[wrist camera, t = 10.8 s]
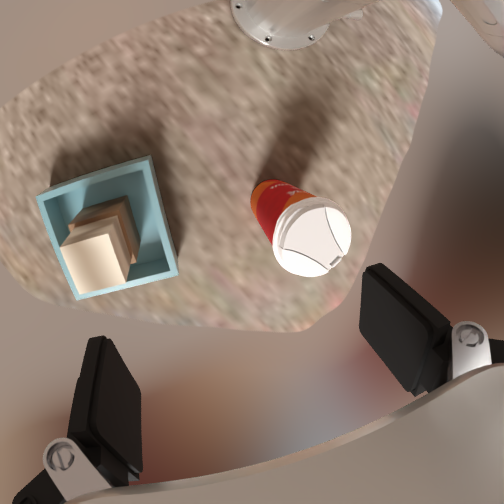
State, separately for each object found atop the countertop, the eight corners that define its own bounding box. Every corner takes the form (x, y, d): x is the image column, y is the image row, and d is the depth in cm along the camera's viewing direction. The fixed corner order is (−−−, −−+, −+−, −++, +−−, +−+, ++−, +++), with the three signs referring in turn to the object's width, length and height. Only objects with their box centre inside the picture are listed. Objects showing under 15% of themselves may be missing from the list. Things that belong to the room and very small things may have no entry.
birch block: (117, 215, 28) (108, 233, 24) (131, 259, 31) (126, 283, 26) (74, 227, 28) (59, 247, 23) (90, 270, 30) (79, 294, 26)
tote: (151, 154, 33) (148, 159, 29) (177, 258, 39) (178, 275, 35) (49, 187, 31) (35, 196, 27) (84, 282, 37) (76, 300, 33)
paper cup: (310, 199, 40) (369, 239, 28) (269, 239, 41) (312, 296, 29) (272, 157, 37) (324, 181, 24) (228, 201, 38) (257, 247, 25)
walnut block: (127, 194, 34) (119, 209, 28) (140, 240, 36) (136, 262, 31) (82, 208, 33) (67, 225, 27) (97, 252, 35) (87, 275, 30)
